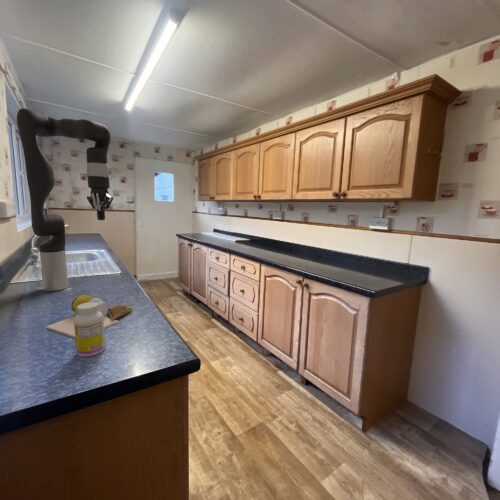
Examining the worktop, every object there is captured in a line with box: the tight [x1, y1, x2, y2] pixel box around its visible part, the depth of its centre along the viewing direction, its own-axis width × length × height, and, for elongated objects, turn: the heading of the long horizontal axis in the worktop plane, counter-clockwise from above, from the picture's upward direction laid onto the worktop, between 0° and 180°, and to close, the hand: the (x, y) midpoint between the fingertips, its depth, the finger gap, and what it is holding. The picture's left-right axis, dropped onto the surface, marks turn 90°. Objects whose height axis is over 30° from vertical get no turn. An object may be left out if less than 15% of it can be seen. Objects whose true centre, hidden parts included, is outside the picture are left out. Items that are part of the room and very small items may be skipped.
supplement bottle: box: [74, 302, 106, 357], centre depth 71 cm, size 7×7×13 cm
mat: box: [45, 314, 119, 339], centre depth 87 cm, size 16×13×1 cm
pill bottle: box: [70, 294, 109, 317], centre depth 93 cm, size 6×6×12 cm
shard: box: [107, 304, 133, 320], centre depth 95 cm, size 11×8×2 cm
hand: (101, 220), depth 110 cm, fingers closed
